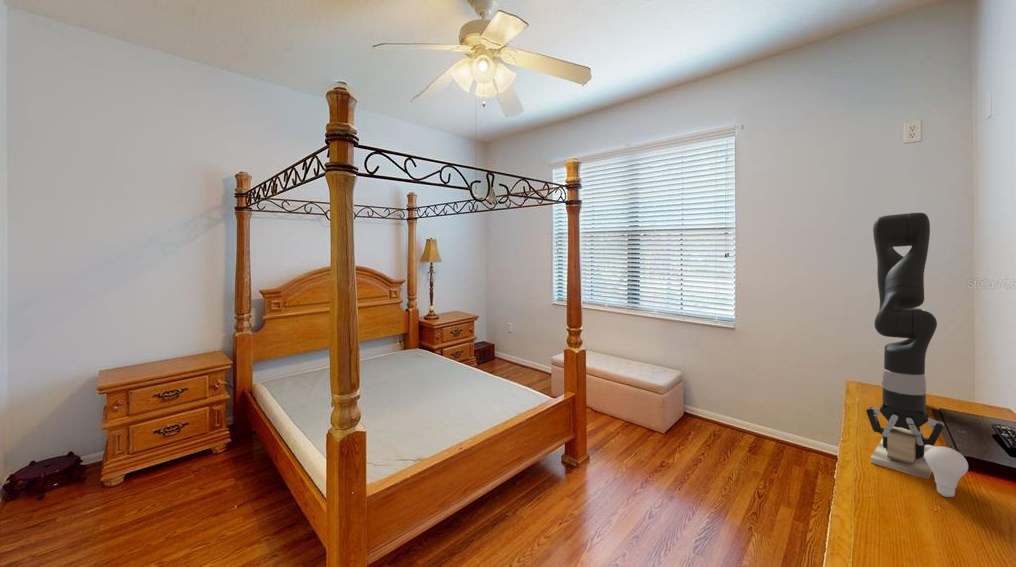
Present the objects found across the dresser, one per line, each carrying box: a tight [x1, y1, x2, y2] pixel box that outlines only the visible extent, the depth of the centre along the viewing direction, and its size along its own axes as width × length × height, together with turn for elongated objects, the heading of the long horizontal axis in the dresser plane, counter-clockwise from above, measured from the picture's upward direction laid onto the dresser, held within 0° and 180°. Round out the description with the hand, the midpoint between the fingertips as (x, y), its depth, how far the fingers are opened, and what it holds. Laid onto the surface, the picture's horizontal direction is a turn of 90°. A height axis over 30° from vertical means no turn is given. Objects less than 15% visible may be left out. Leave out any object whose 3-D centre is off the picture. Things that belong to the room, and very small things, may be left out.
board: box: [870, 437, 936, 480], centre depth 97 cm, size 18×10×2 cm, turn 126°
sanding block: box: [887, 427, 916, 464], centre depth 95 cm, size 8×4×6 cm, turn 126°
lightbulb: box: [925, 445, 969, 498], centre depth 82 cm, size 6×6×11 cm
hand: (902, 453), depth 95 cm, fingers closed on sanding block, 4 cm apart
